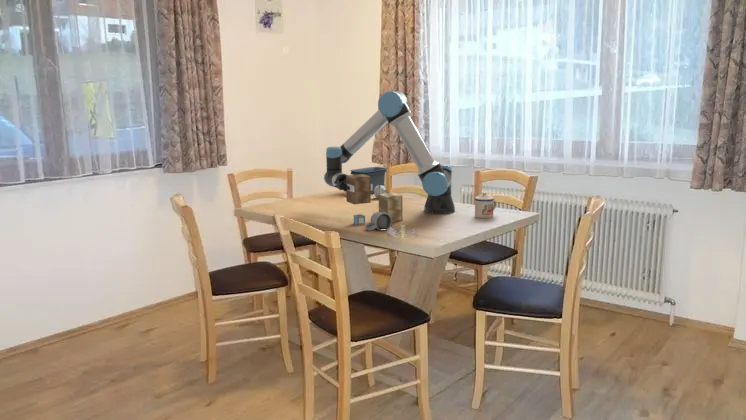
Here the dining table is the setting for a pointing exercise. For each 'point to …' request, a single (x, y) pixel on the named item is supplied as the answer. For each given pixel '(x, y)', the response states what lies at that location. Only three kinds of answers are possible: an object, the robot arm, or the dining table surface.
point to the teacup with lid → (484, 206)
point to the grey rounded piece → (379, 190)
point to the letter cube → (359, 219)
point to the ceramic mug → (379, 221)
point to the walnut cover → (359, 189)
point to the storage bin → (372, 175)
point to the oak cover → (391, 205)
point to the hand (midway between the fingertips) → (362, 188)
